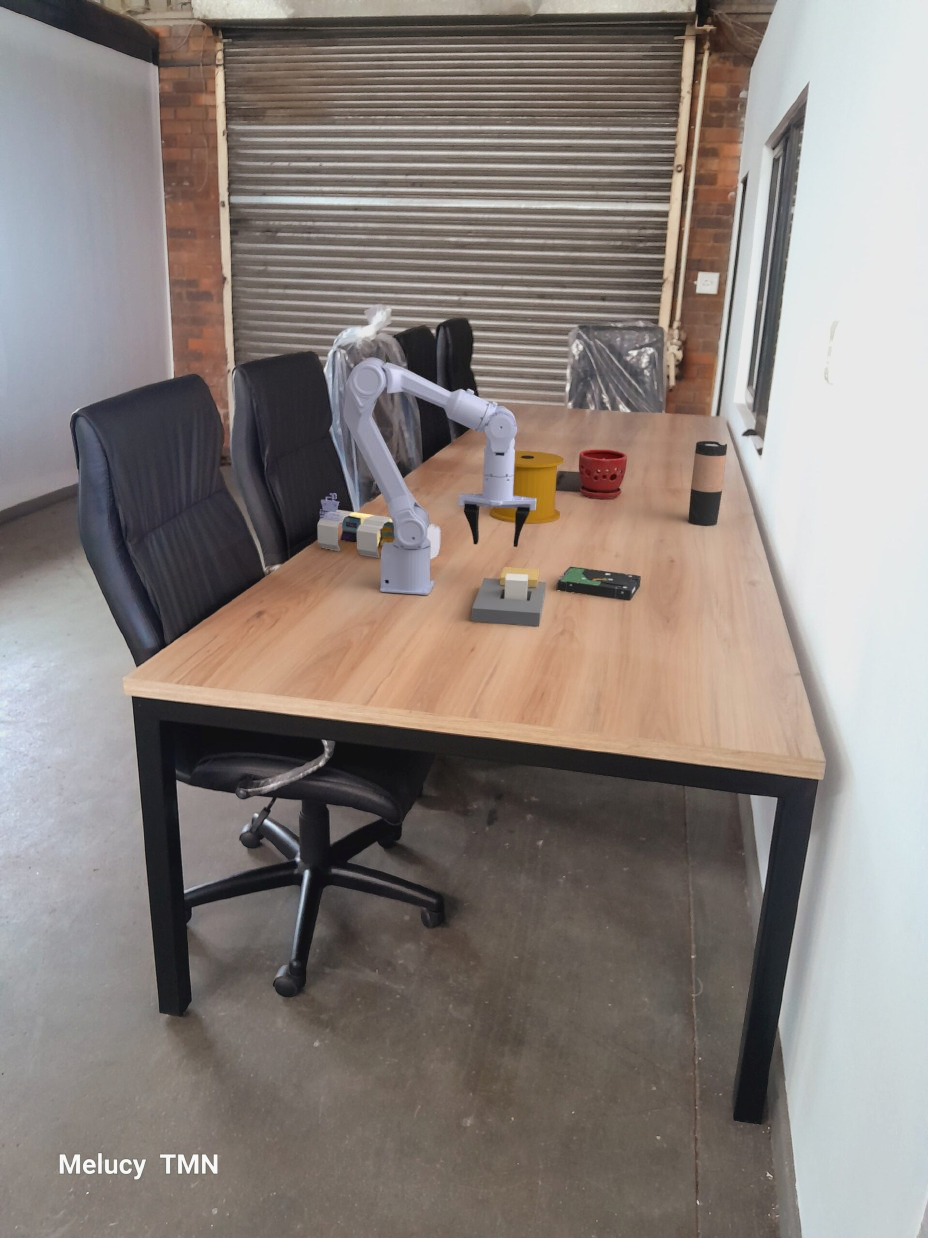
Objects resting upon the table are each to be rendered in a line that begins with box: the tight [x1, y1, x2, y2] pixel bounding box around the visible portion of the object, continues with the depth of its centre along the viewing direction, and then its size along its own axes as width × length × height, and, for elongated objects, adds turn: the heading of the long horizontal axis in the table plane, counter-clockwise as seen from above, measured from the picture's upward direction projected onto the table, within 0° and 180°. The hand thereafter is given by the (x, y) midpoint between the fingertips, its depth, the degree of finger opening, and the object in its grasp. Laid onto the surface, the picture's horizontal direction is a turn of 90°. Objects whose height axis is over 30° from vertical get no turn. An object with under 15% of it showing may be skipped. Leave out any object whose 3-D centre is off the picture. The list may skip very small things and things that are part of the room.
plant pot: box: [578, 448, 628, 500], centre depth 266 cm, size 13×13×12 cm
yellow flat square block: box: [499, 566, 540, 588], centre depth 184 cm, size 7×7×2 cm
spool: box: [489, 450, 564, 524], centre depth 242 cm, size 18×18×15 cm
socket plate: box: [471, 577, 547, 627], centre depth 177 cm, size 12×18×2 cm, turn 172°
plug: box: [504, 573, 528, 601], centre depth 176 cm, size 4×4×6 cm
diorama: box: [316, 492, 442, 560], centre depth 207 cm, size 25×10×13 cm, turn 65°
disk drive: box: [556, 566, 642, 601], centre depth 190 cm, size 10×3×15 cm
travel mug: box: [688, 440, 728, 527], centre depth 239 cm, size 8×8×20 cm
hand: (495, 544), depth 183 cm, fingers open, 7 cm apart
